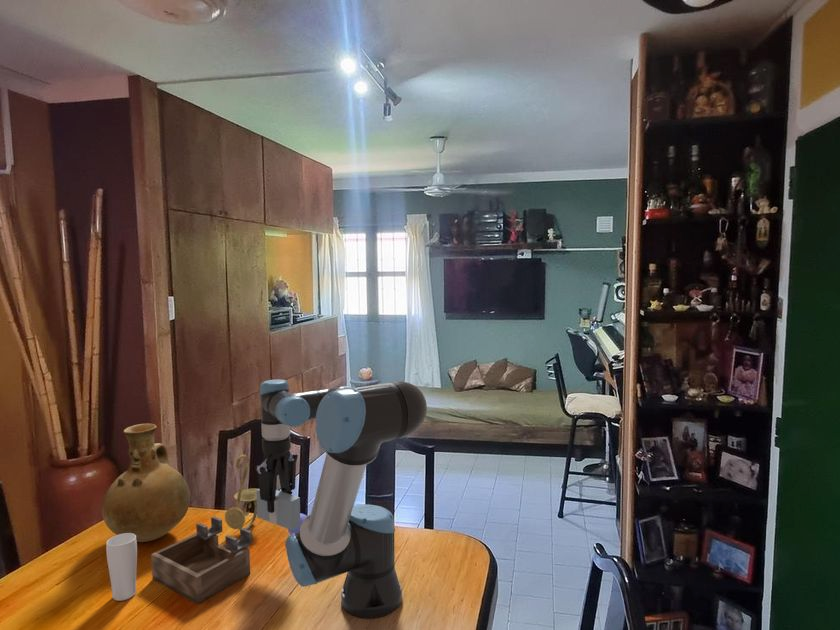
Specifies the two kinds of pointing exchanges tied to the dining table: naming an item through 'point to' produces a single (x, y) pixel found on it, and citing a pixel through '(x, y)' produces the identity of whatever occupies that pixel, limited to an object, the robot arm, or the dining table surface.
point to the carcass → (203, 562)
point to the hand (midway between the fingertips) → (279, 519)
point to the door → (282, 509)
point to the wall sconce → (235, 515)
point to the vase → (146, 490)
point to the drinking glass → (122, 565)
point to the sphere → (302, 518)
